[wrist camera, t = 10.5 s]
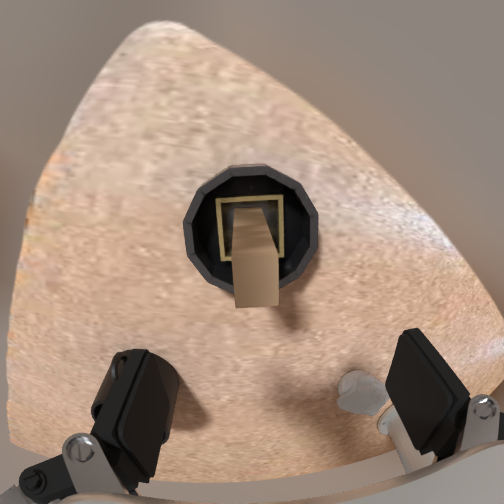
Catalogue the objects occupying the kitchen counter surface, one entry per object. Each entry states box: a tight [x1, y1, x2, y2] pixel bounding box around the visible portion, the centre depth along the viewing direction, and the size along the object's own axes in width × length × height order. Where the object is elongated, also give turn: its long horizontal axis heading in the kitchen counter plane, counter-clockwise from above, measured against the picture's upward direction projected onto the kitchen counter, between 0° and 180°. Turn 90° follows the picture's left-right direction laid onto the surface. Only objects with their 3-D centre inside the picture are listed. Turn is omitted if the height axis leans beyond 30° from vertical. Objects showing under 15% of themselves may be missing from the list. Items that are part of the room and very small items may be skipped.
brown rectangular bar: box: [231, 206, 279, 308], centre depth 21 cm, size 2×3×12 cm
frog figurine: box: [337, 370, 389, 416], centre depth 32 cm, size 6×7×7 cm
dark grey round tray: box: [183, 164, 318, 294], centre depth 25 cm, size 11×11×4 cm
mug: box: [91, 350, 179, 445], centre depth 29 cm, size 9×12×9 cm
